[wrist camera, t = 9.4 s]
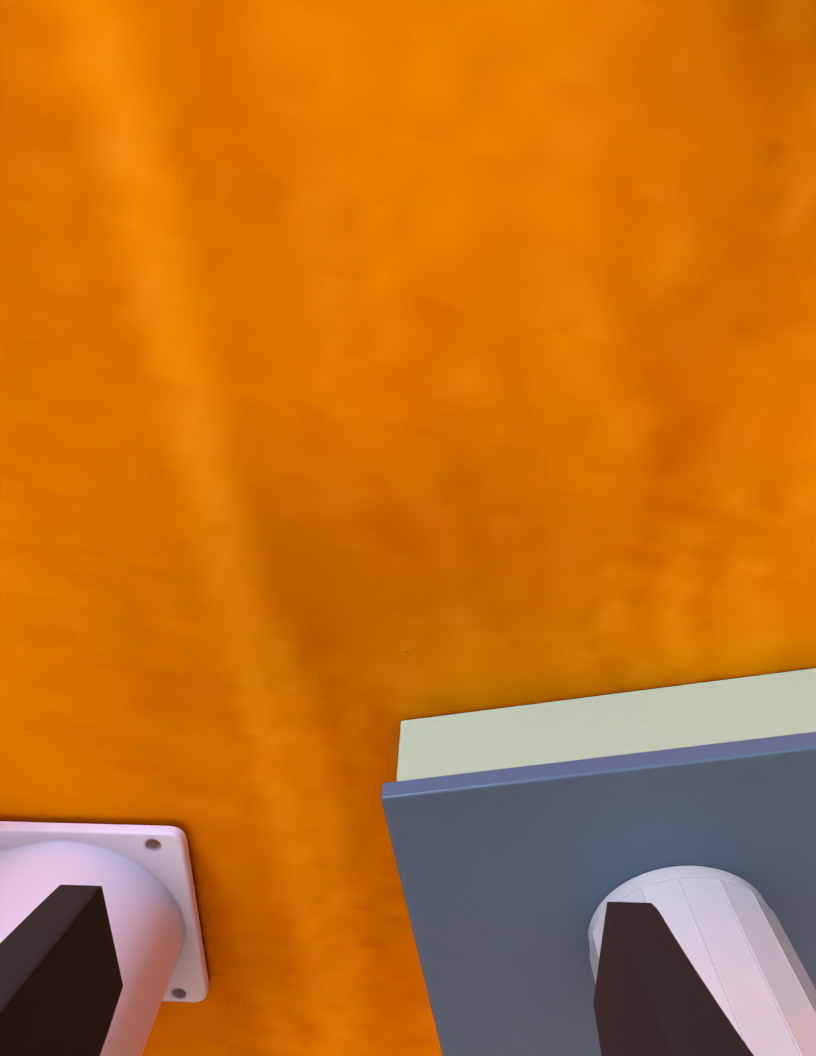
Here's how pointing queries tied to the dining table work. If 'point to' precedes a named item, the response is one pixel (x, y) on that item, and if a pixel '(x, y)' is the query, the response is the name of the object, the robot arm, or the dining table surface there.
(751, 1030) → the white cylindrical tumbler
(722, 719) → the blue hardcover book
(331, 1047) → the dining table surface
